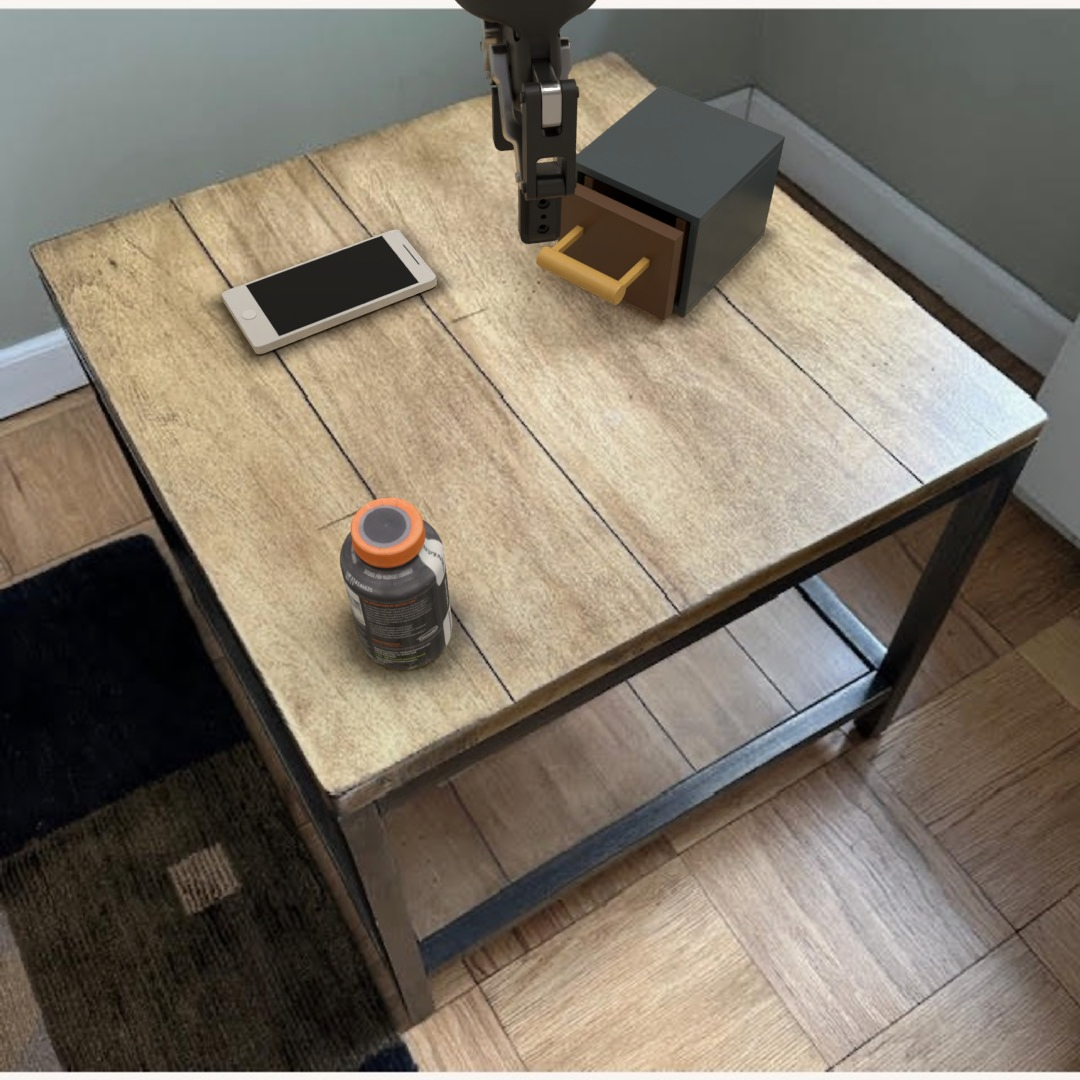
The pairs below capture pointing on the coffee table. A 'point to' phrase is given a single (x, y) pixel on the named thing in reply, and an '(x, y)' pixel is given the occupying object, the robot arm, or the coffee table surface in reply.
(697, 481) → the coffee table surface
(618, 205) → the drawer
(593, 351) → the coffee table surface
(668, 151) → the cabinet
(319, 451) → the coffee table surface
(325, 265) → the smartphone
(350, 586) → the pill bottle
